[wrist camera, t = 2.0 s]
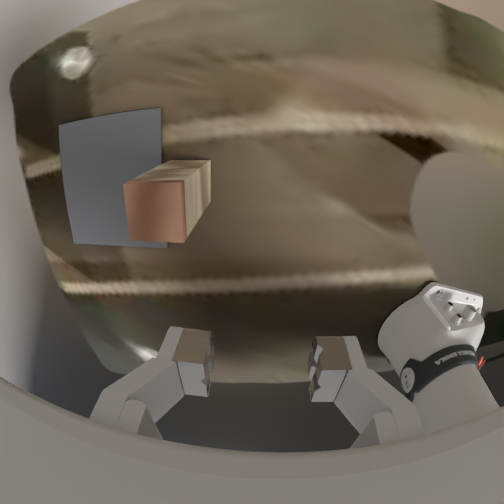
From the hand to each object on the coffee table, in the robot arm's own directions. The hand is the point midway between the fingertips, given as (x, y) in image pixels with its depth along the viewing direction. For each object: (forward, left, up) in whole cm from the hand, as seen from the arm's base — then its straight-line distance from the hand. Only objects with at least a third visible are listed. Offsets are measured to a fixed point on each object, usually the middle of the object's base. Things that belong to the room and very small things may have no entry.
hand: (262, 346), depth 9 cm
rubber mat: (+21, 0, -25) cm, 32 cm away
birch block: (+9, 0, -25) cm, 27 cm away
